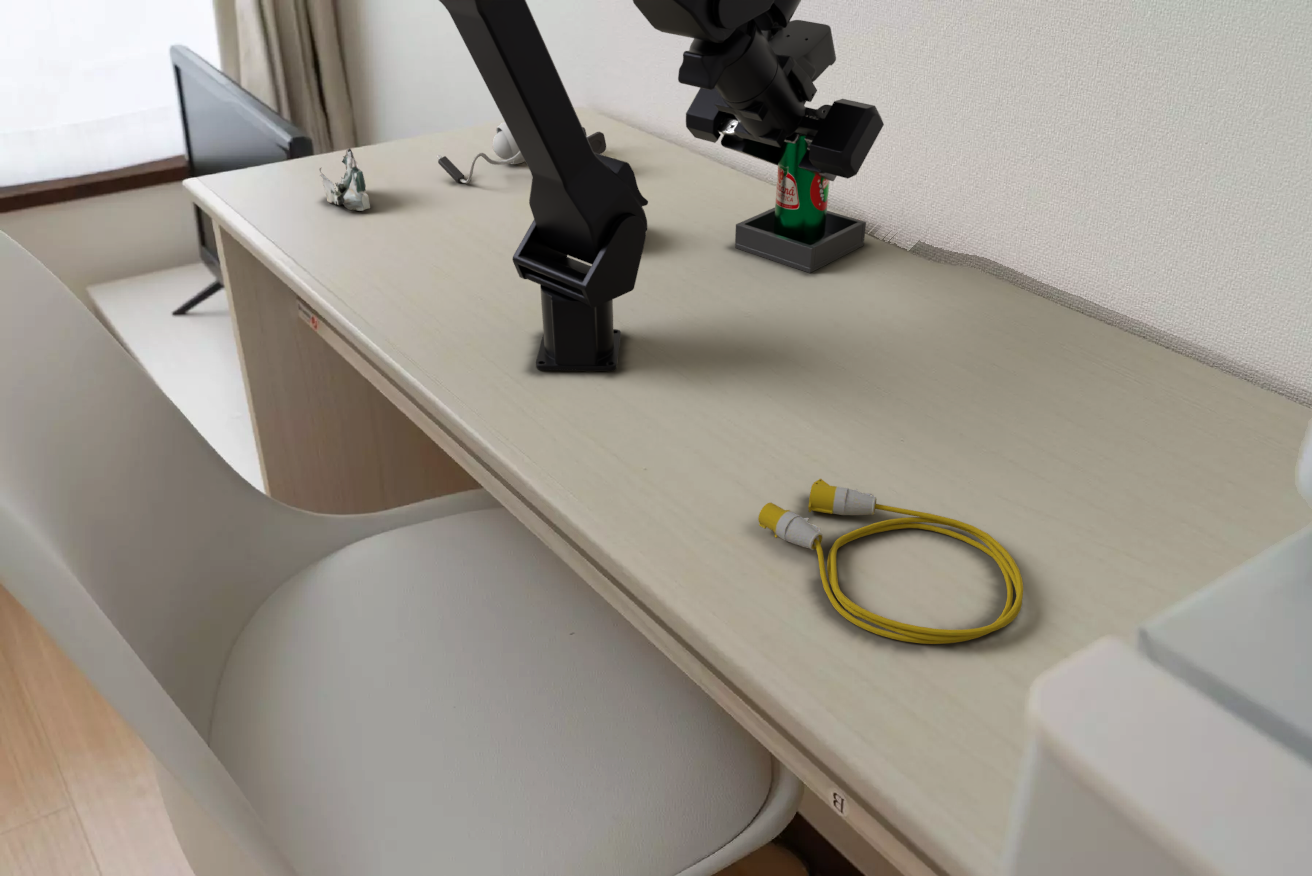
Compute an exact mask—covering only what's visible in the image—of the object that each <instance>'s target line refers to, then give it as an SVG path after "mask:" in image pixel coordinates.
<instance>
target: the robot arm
mask: <svg viewBox="0 0 1312 876" xmlns="http://www.w3.org/2000/svg"><path fill="white" fill-rule="evenodd" d="M438 1H439V2H440V4H442V5H443V7H444V8H445V9H446V10H447V12H448V13H449V16H450V17H451V20H452V22H453V23H454V25H455V27H456V29H457V31H458V33H459V35H460V37H461V39H462V41H463V43H464V45H465V46H466V49H467V50H468V52H469V54H470V56H471V58H472V60H473V63H474V64H475V66H476V68H477V70H478V72H479V74H480V76H481V78H482V79H483V82H484V84H485V86H486V87H487V89H488V91H489V94H490V96H491V97H492V99H493V101H494V103H495V106H496V107H497V109H498V111H499V113H500V115H501V117H502V119H503V122H505V123H506V125H507V126H508V128H509V130H510V132H511V134H512V136H513V138H514V140H515V142H516V144H517V146H518V148H519V150H520V152H521V154H522V156H523V158H524V160H525V163H526V166H527V168H528V169H529V171H530V174H531V184H530V192H529V199H528V201H529V202H528V203H529V204H528V205H529V207H530V210H531V213H532V217H533V221H532V222H531V224H530V226H529V227H528V229H527V231H526V233H525V235H524V236H523V238H522V240H520V243H519V245H518V247H517V248H516V250H515V252H514V254H513V255H512V263H513V265H514V267H515V270H516V272H517V274H518V276H519V278H521V279H523V280H528V281H530V282H532V283H535V284H538V285H539V288H540V299H541V300H540V302H541V303H540V304H541V316H542V318H541V319H542V331H543V333H542V337H541V340H540V344H539V348H538V353H537V357H536V360H535V369H536V370H539V371H578V372H579V371H582V372H583V371H585V372H586V371H587V372H590V371H593V372H597V371H598V372H600V371H601V372H613V371H616V370H617V369H618V363H619V355H620V353H619V352H620V347H621V339H622V331H621V330H620V329H615V328H614V307H613V306H614V303H613V300H615V299H617V298H619V297H621V296H624V295H626V294H628V293H630V292H633V290H634V289H635V286H636V283H637V282H636V281H637V278H638V273H639V269H640V265H641V260H642V256H643V252H644V247H645V243H646V237H647V231H648V219H647V215H646V212H645V209H644V207H646V206H648V204H649V201H648V199H647V198H645V197H644V196H643V194H642V193H641V191H640V189H639V186H638V183H637V178H636V175H635V172H634V169H633V168H632V166H631V165H630V163H629V162H628V161H624V160H621V159H617V158H614V157H611V156H607V155H604V154H598V153H594V152H593V150H592V148H591V145H590V143H589V141H588V139H587V137H586V135H587V133H586V134H585V132H584V130H583V128H582V127H583V125H582V123H581V121H580V119H579V116H578V113H577V112H576V110H575V107H574V106H573V102H572V101H571V98H570V96H569V94H568V92H567V90H566V88H565V85H564V83H563V81H562V78H561V76H560V74H559V72H558V69H557V68H556V65H555V62H554V60H553V58H552V55H551V54H550V51H549V49H548V47H547V45H546V42H545V39H544V38H543V36H542V34H541V32H540V31H541V30H540V29H539V27H538V25H537V21H536V20H535V18H534V15H533V13H532V11H531V9H530V7H529V5H528V3H527V0H438ZM632 2H633V4H634V6H635V7H636V8H637V9H638V11H640V13H641V14H642V16H643V17H644V18H645V19H646V20H647V22H648V23H649V24H650V26H652V28H653V29H655V30H657V31H659V32H660V33H665V34H669V35H674V36H680V37H685V38H689V39H690V38H691V39H692V42H691V44H690V46H689V49H688V50H685V51H684V52H683V53H682V62H681V65H680V66H679V68H678V75H677V80H678V81H677V82H678V83H679V84H683V85H686V86H691V87H695V88H699V89H698V91H697V93H696V94H695V96H694V98H693V100H692V102H691V103H690V105H689V107H688V109H687V110H686V112H685V127H686V129H687V130H688V131H689V132H690V133H691V136H693V137H694V138H695V139H699V140H701V141H702V140H703V141H706V142H710V143H714V144H716V143H717V142H718V141H719V139H720V138H721V140H720V145H721V146H722V147H723V148H725V149H729V150H731V151H735V152H737V153H741V154H744V155H746V156H749V157H752V158H754V159H758V160H760V161H763V162H766V163H769V164H772V165H775V166H777V167H778V157H779V147H781V146H782V144H783V143H784V141H785V142H789V143H793V144H795V143H797V141H798V140H799V138H800V135H803V136H806V137H805V141H806V142H807V143H808V144H809V145H808V146H807V150H806V152H805V154H804V156H803V158H802V160H801V161H800V163H799V165H798V167H799V168H802V169H804V170H806V171H809V172H811V173H813V174H816V175H818V176H820V177H822V178H825V179H827V180H830V182H835V180H836V178H837V177H841V178H845V179H847V180H848V179H850V178H853V177H855V176H857V175H858V173H859V171H860V169H861V167H862V165H863V164H864V162H865V160H866V158H867V157H868V154H869V153H870V151H871V149H872V147H873V145H874V144H875V142H876V140H877V138H878V137H879V135H880V133H881V131H882V129H883V127H884V125H885V123H884V120H883V118H882V116H881V114H880V112H879V110H878V109H877V106H876V105H873V104H869V103H864V102H860V101H856V100H852V99H846V98H840V99H837V100H834V101H833V103H832V104H823V105H821V106H819V107H818V108H812V107H807V106H805V104H806V103H807V102H809V103H811V102H813V99H814V97H815V95H816V93H817V92H818V89H817V87H816V86H815V84H814V82H815V81H816V80H818V78H819V77H820V76H821V75H822V74H823V73H824V72H825V71H826V70H827V69H828V68H829V67H830V66H833V65H834V63H836V61H837V56H836V55H837V54H836V50H835V45H834V44H835V43H834V39H833V33H832V27H831V26H830V25H828V24H825V23H819V22H814V21H807V20H802V19H793V20H792V18H793V17H794V14H795V12H796V11H797V9H798V8H799V5H800V4H801V2H802V0H632ZM721 134H722V135H723V136H722V135H721ZM721 136H722V137H721Z"/></svg>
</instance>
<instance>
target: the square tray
mask: <svg viewBox="0 0 1312 876" xmlns="http://www.w3.org/2000/svg"><path fill="white" fill-rule="evenodd" d="M774 217H775V207H772V208H770V209H768V210H765V211H763V212H761V213H759V214H756V215H754V216H752V217H750V218H748V219H745V220H743V221H740V222H738V223H736V224H735V238H734V248H735V249H737V250H741V251H744V252H747V253H750V254H752V255H755V256H758V257H761V258H764V259H767V260H770V261H773V262H777V263H779V264H782V265H785V266H788V267H790V268H794V269H797V270H800V271H803V272H806V273H809V274H811V273H813V272H815V271H817V270H819V269H820V268H822V267H824V266H826V265H828V264H830V263H832V262H834V261H837V260H838V259H840V258H842V257H844V256H846V255H847V254H850V253H852V252H853V251H856V250H857V249H859V248H861V247H863V246H864V245H865V236H866V227H867V221H864V220H861V219H859V218H855V217H851V216H848V215H845V214H840V213H837V212H835V211H831V210H827V216H826V227H825V235H824V237H823V238H822V239H821V240H820V241H819V242H817V243H815V244H812V245H808V244H805V243H801V242H798V241H795V240H792V239H789V238H786V237H783V236H780V235H776V234H774Z"/></svg>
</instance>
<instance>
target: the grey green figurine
mask: <svg viewBox="0 0 1312 876" xmlns="http://www.w3.org/2000/svg"><path fill="white" fill-rule="evenodd" d="M342 157H343V159H342V160H341V163H343V164H344V165H345V172H344V176H343V177H342V176H340V177H339V178H340V182H335V183H333V181H331V179H329V178H328V177H327V176H325V174H323V173H322V167H321V166H320V167H319V169H318V170H319V173H320V175H319V177H322V180H321V182H322V187H323V190H324V194H325V196H326V201H327V203H330V204H335V205H337V206H339V207H340V206H341V205H343V206H344V207H345V208H346V209H347V210H348V211H359V212H360V211H362V212H363V211H365V210H367V209H368V210H369V209H371V205H370V198H369V195H368V193H367V192H365V191H367V189H366V188H367V186H366V179H365V177H364V172H363V170H361V169H360V167H359V165H358V162H357V160H356V158H355V156H354V152H353V151H352V149H351V148H350V147H349V148H346V151H345V155H344V156H343V155H342ZM336 187H337V189H336Z"/></svg>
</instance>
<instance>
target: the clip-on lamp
mask: <svg viewBox="0 0 1312 876" xmlns="http://www.w3.org/2000/svg"><path fill="white" fill-rule="evenodd" d="M582 128H583V130H584V132H585V134H586V137H587V139H588V141H589V143H590V145H591V148H592V150H593V152H594V153H598V154H601V155H603V153H605V151H606V150H607V143H606V137H605V133H604V132H601V131H596V132H593V133H592V134H590V135H589V134H588V135H587V131H586V130H587V129H586V128H585V127H584V126H582ZM495 131H496V132H495V133H496V134H495V135H494V137H493V139H492V148H493V152H494V154H495V155H496V156H497V157H498V158H500V159H503V160H494V159H491V158H490V157H489V156H488V155H487V154H486V153H484V152H479V153H476V155H474V157H473V160H472V161H471V164H470V169H469V174H468V177H467V179H466V180H465V178H466V175H464V173H463V172H462V171H461V170H460V169H458V167H457V166H456V165H455V164H454V163H453V162H452V161H451V159H449V158H448V157H447V156H446V155H444V156H442V155H441V154H437V155H436V158H437V159H438V160H437V163H438V164H439V166H440V167H441V168H442V169H443V170H444V171H445V172H446V173H447V174H448V175H449V176H450V177H451V178H452V179H453V180H454V181H455V182H456V183H457V184H459V183H462V184H469V183H470V182H471V181H472V178H473V174H474V168H475V165H476V162H477V160H478V159H479V158H480V157H482V158H484V160H485V161H486V162H487V163H489V164H490V165H495V166H496V165H497V166H499V165H500V166H503V165H507V164H508V165H509V164H511V165H518V164H522V163H524V162H525V160H524V158H523V156H522V154H521V152H520V150H519V148H518V146H517V144H516V142H515V140H514V138H513V136H512V134H511V132H510V130H509V128H508V126H507V125H506V123H505V121H503V122H501V123H500V124H498V125H497V127H496V129H495ZM525 163H526V162H525Z"/></svg>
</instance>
